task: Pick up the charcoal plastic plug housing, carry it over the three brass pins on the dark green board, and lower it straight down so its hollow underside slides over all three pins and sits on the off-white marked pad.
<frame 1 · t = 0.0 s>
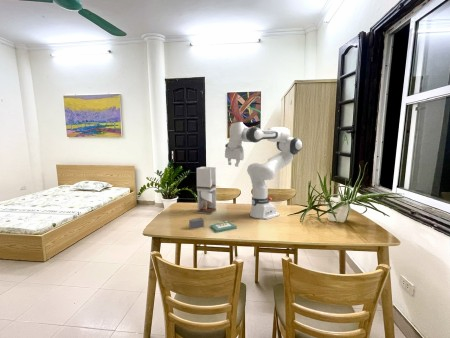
hand: (233, 165, 155), 39 cm above the table, tool pointing down, fingers open, 8 cm apart
header pins: (223, 223, 146), on the header board, point 3 cm above the table
header board: (223, 227, 146), on the table
plug housing: (196, 227, 147), on the table
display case: (206, 212, 179), on the table
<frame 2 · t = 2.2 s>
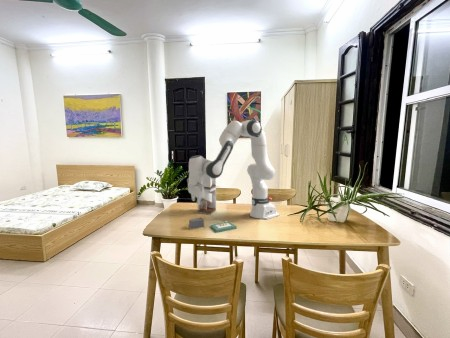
hand: (195, 202, 145), 17 cm above the table, tool pointing down, fingers open, 8 cm apart
nothing on the table moved.
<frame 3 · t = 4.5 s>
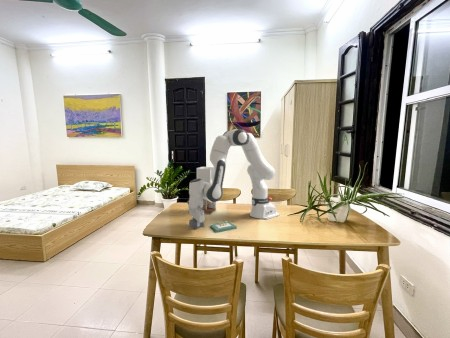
hand: (196, 224, 147), 2 cm above the table, tool pointing down, fingers closed on plug housing, 4 cm apart
plug housing: (196, 227, 147), on the table, touching gripper
everything else where it was.
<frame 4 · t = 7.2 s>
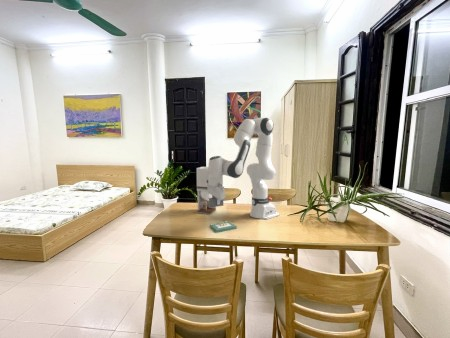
hand: (216, 203, 145), 16 cm above the table, tool pointing down, fingers closed on plug housing, 4 cm apart
plug housing: (216, 205, 145), point 15 cm above the table, touching gripper
everything else where it was.
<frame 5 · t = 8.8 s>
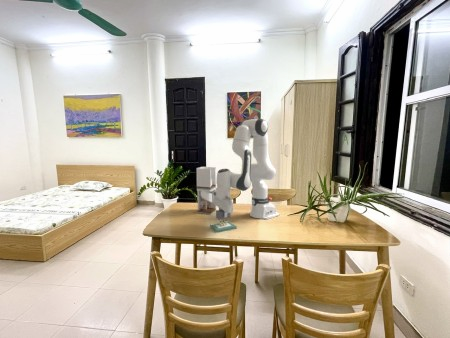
hand: (223, 215, 145), 8 cm above the table, tool pointing down, fingers closed on plug housing, 4 cm apart
plug housing: (223, 218, 145), point 7 cm above the table, touching gripper
everything else where it was.
when the fingers open (3 cm above the table, at t = 10.2 s): plug housing stays where it is, resting on header board.
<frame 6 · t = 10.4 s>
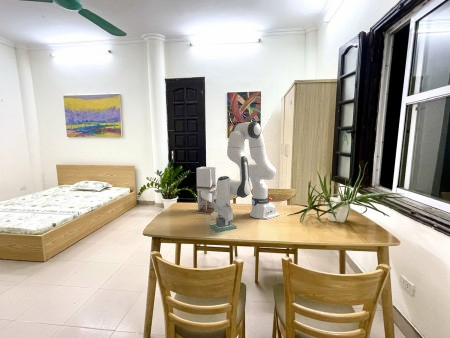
hand: (223, 222, 146), 3 cm above the table, tool pointing down, fingers open, 6 cm apart
plug housing: (223, 225, 146), point 2 cm above the table, touching header board
everything else where it was.
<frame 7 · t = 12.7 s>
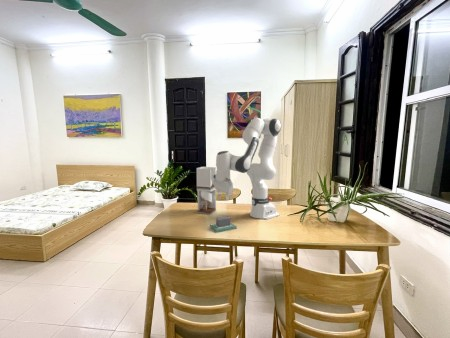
hand: (223, 198, 145), 19 cm above the table, tool pointing down, fingers open, 8 cm apart
nothing on the table moved.
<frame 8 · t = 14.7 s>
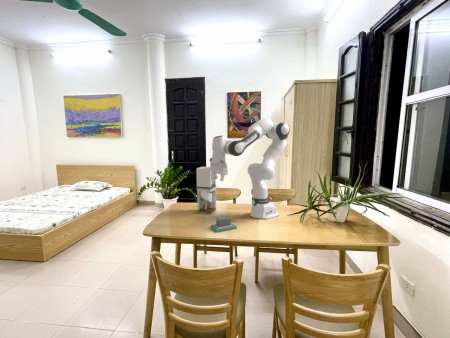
hand: (218, 179, 155), 29 cm above the table, tool pointing down, fingers open, 8 cm apart
nothing on the table moved.
at the end: plug housing 0.0 cm off-centre on the header board, point 1.6 cm above the header board's base; plug housing tilted 0°; the gripper is holding nothing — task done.
